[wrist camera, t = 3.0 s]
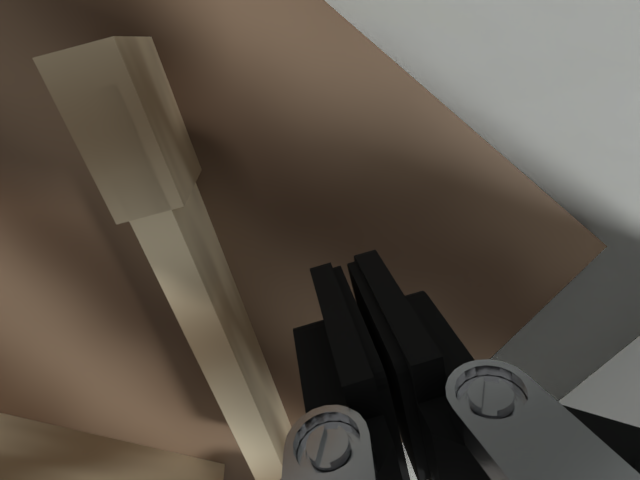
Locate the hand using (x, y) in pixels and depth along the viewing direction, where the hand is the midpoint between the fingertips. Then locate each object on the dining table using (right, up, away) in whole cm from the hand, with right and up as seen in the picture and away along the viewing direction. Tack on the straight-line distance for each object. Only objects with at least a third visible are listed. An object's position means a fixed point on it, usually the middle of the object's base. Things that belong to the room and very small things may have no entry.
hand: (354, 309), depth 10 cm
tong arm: (-4, 0, +4) cm, 5 cm away
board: (-6, -1, +5) cm, 7 cm away
